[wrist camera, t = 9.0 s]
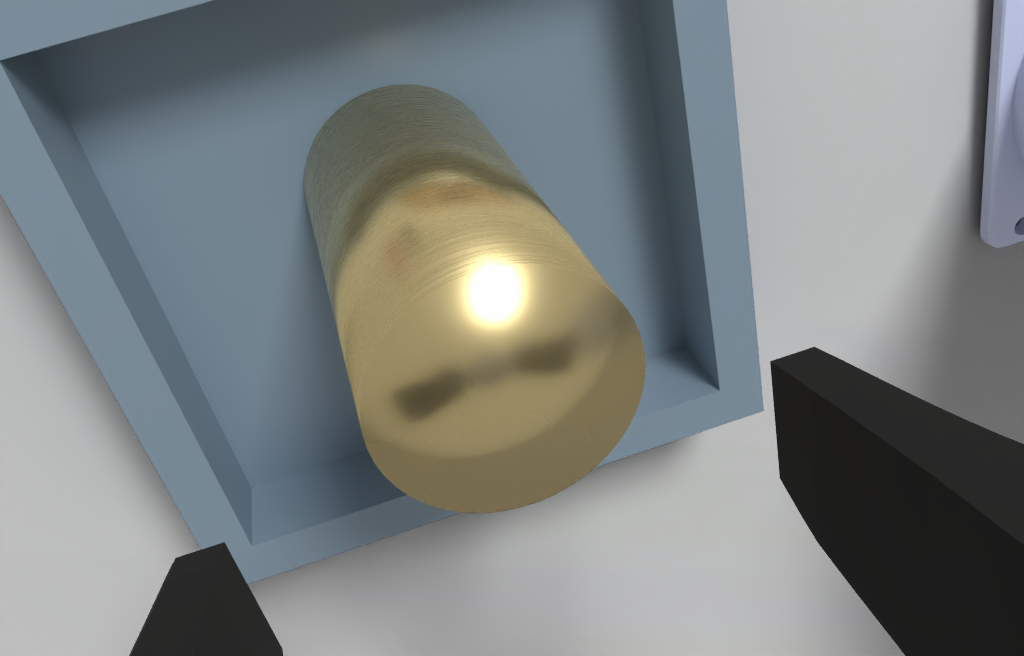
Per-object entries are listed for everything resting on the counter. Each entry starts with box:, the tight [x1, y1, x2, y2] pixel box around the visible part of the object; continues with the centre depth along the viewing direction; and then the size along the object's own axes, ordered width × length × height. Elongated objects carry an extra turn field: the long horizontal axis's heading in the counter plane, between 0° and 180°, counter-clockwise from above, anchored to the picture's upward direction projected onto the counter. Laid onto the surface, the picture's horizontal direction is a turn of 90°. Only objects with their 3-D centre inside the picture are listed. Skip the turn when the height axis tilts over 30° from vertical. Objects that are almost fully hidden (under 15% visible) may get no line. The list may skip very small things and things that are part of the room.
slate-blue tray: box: [0, 0, 764, 584], centre depth 20 cm, size 13×13×3 cm
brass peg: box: [304, 84, 646, 513], centre depth 16 cm, size 4×4×8 cm
